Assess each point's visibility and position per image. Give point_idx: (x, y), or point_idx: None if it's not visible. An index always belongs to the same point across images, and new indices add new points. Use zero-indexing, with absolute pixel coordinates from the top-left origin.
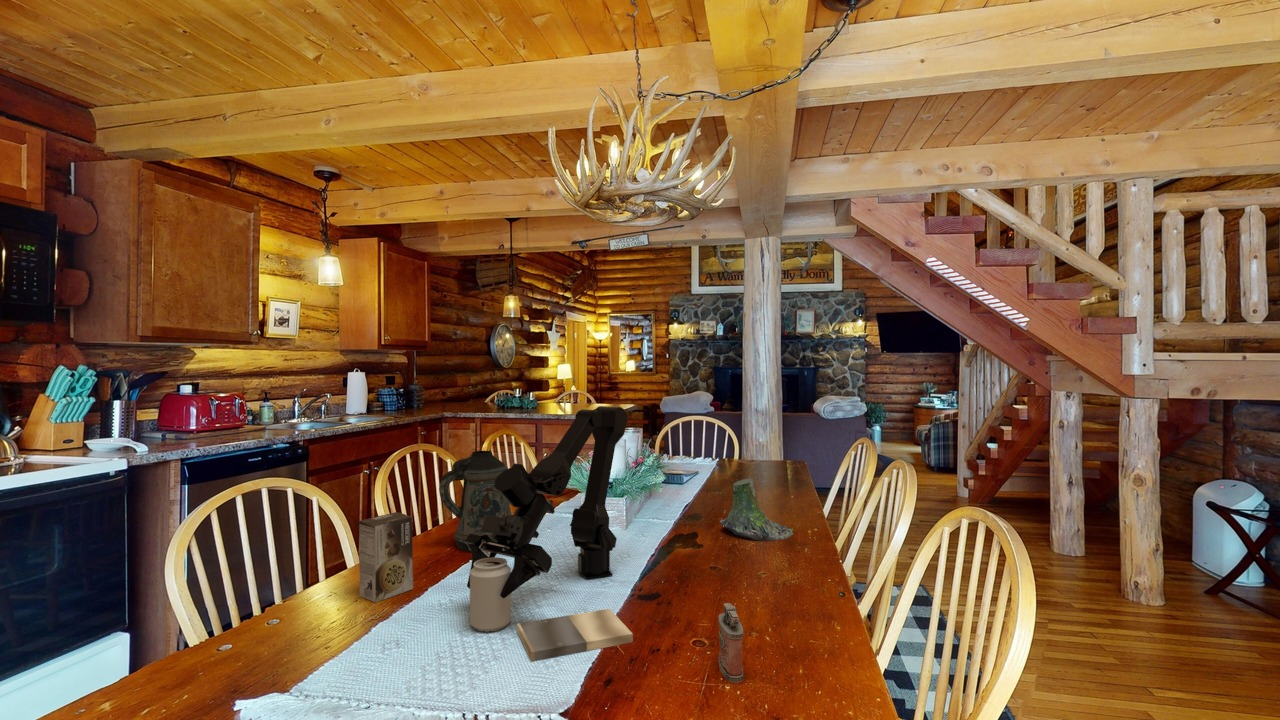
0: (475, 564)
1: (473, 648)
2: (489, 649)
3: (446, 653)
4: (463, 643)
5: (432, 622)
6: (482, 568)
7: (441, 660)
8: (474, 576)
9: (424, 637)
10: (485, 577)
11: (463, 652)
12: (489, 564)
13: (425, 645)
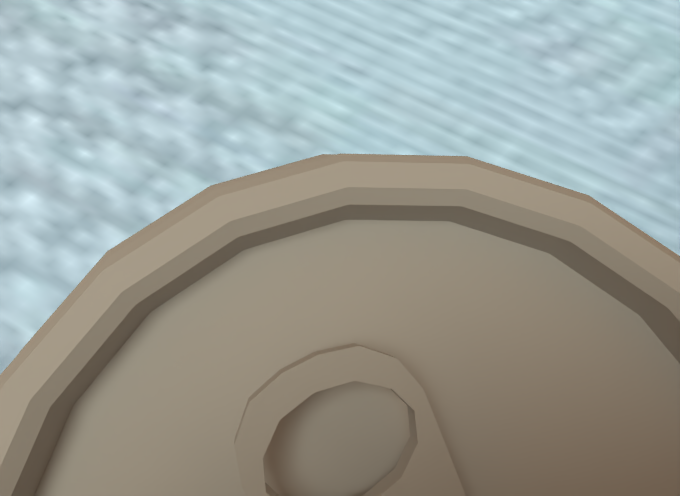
0: (536, 215)
1: (111, 187)
2: (21, 247)
3: (177, 56)
4: (217, 178)
5: (627, 187)
6: (182, 210)
7: (124, 4)
8: (318, 158)
9: (452, 65)
10: (106, 257)
11: (113, 123)
12: (242, 467)
13: (352, 26)
